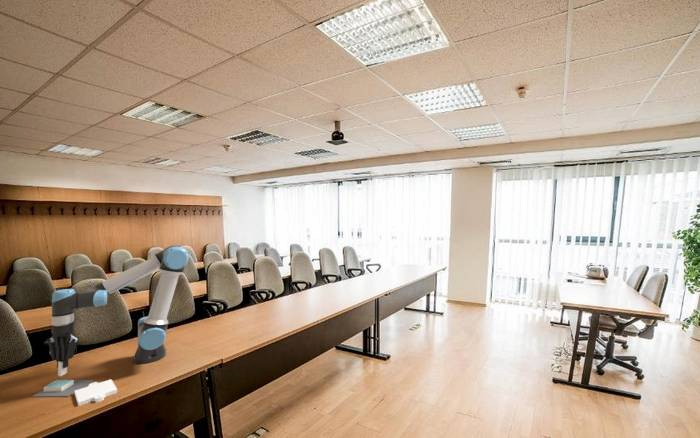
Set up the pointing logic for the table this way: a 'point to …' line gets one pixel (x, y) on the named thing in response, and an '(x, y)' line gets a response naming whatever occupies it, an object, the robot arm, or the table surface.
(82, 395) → the mounting plate
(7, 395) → the table surface
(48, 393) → the mat
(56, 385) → the tile
